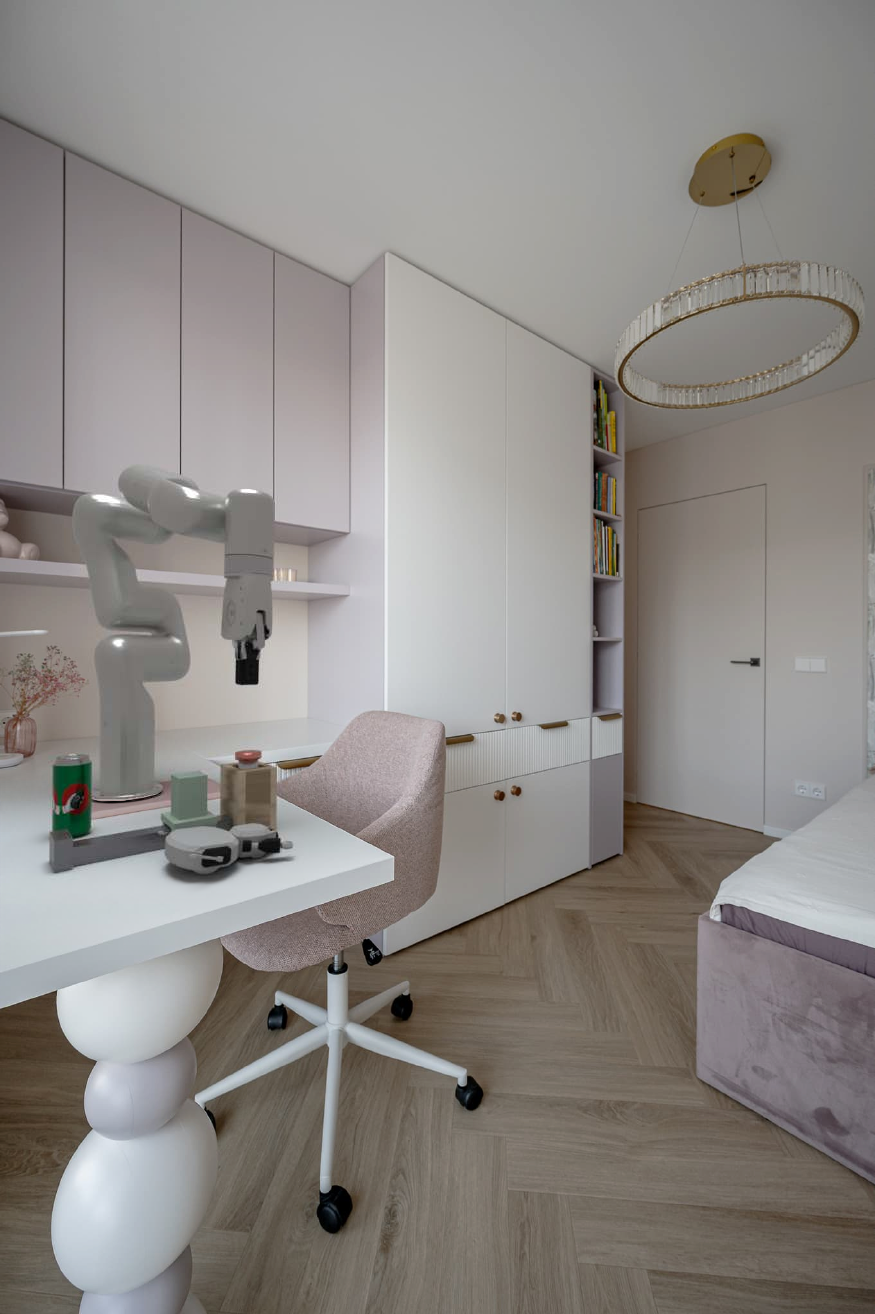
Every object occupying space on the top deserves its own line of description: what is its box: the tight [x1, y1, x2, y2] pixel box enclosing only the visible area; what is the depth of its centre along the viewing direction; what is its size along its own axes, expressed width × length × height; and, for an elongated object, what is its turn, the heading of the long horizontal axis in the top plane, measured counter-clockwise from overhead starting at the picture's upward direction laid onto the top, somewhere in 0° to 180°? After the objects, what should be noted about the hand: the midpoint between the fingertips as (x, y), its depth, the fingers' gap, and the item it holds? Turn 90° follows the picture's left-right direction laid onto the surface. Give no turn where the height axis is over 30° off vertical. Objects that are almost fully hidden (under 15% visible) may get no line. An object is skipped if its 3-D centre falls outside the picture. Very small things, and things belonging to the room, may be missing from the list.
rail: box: [48, 814, 233, 874], centre depth 81 cm, size 5×24×4 cm, turn 130°
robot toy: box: [158, 823, 294, 876], centre depth 76 cm, size 12×4×15 cm
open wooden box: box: [219, 760, 278, 831], centre depth 90 cm, size 8×6×10 cm
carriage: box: [160, 770, 219, 832], centre depth 84 cm, size 7×6×10 cm
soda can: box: [51, 753, 93, 839], centre depth 86 cm, size 5×5×12 cm
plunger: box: [234, 749, 262, 770], centre depth 90 cm, size 4×4×6 cm
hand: (246, 684), depth 90 cm, fingers closed
